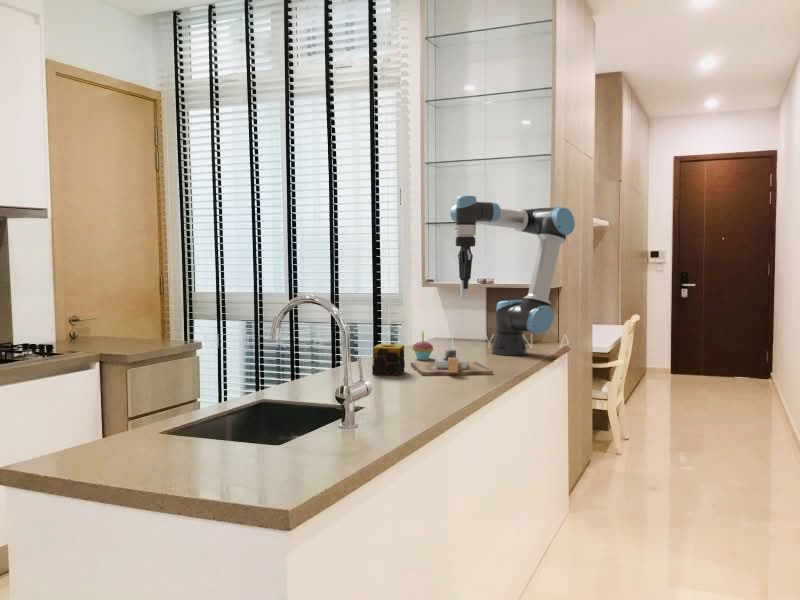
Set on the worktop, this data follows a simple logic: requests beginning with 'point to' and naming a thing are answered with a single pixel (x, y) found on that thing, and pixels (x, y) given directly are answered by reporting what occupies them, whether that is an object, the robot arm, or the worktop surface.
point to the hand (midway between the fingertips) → (464, 297)
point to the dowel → (459, 366)
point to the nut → (450, 363)
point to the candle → (388, 359)
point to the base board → (431, 369)
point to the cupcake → (422, 349)
